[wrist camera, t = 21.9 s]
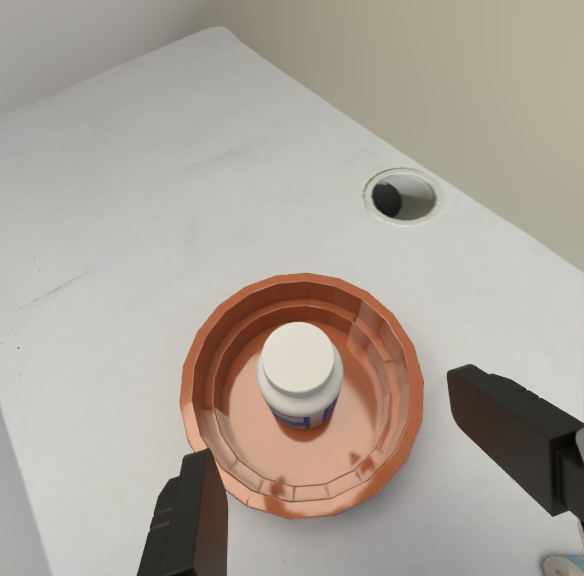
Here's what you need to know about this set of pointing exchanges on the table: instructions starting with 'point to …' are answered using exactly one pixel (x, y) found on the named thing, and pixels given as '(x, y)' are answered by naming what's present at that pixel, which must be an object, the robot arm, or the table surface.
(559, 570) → the white and blue rod
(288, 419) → the pill bottle
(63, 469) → the table surface
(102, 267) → the table surface
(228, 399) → the bowl
